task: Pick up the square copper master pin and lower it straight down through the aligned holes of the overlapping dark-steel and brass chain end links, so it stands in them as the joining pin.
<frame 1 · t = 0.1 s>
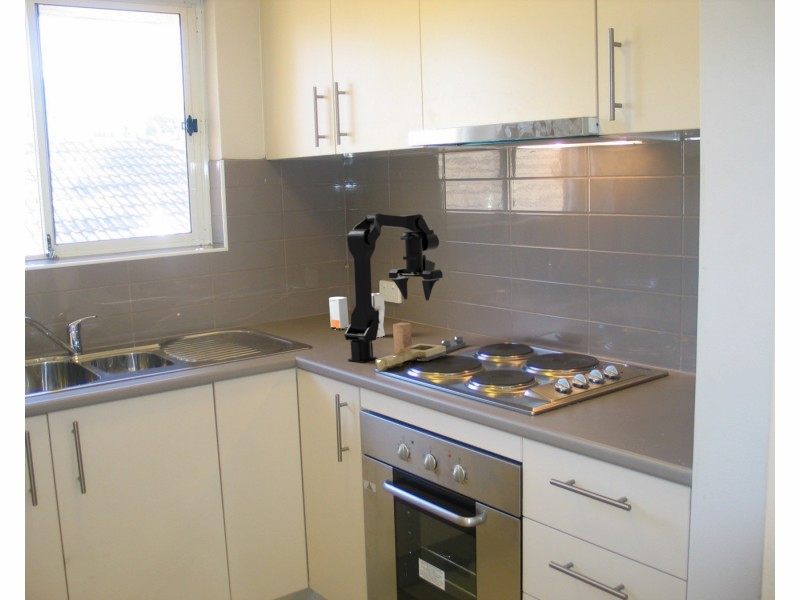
hand: (416, 299, 268), 15 cm above the countertop, fingers open, 9 cm apart
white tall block: (376, 336, 287), on the countertop
master pin: (403, 351, 258), on the countertop
skincare box: (340, 329, 306), on the countertop
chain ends: (423, 357, 248), on the countertop
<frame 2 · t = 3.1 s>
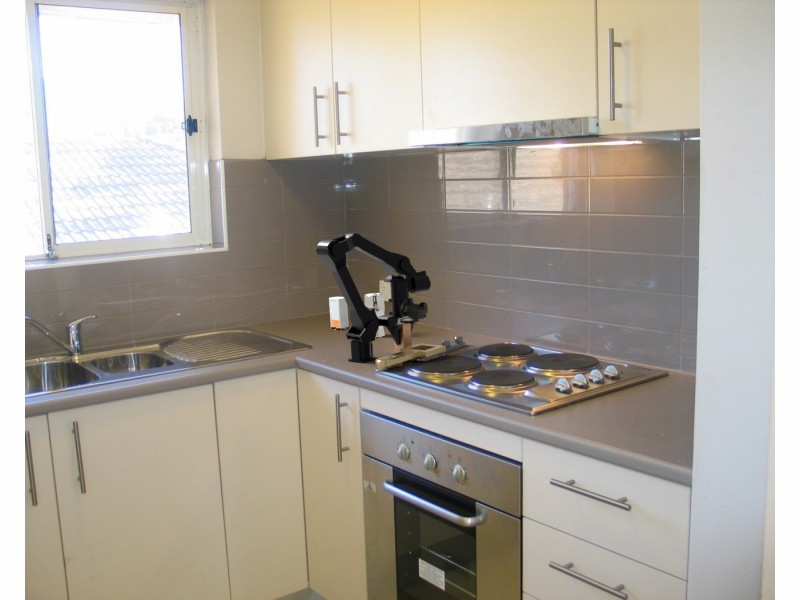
hand: (402, 343, 257), 3 cm above the countertop, fingers closed on master pin, 4 cm apart
master pin: (403, 351, 258), on the countertop, touching gripper
everything else where it was.
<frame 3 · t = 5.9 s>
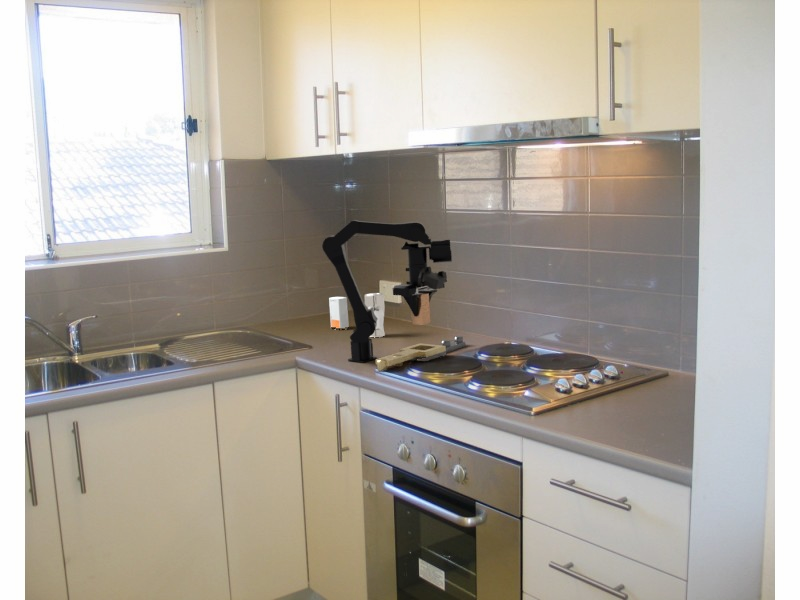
hand: (420, 315, 246), 13 cm above the countertop, fingers closed on master pin, 4 cm apart
master pin: (421, 323, 247), point 10 cm above the countertop, touching gripper
everything else where it was.
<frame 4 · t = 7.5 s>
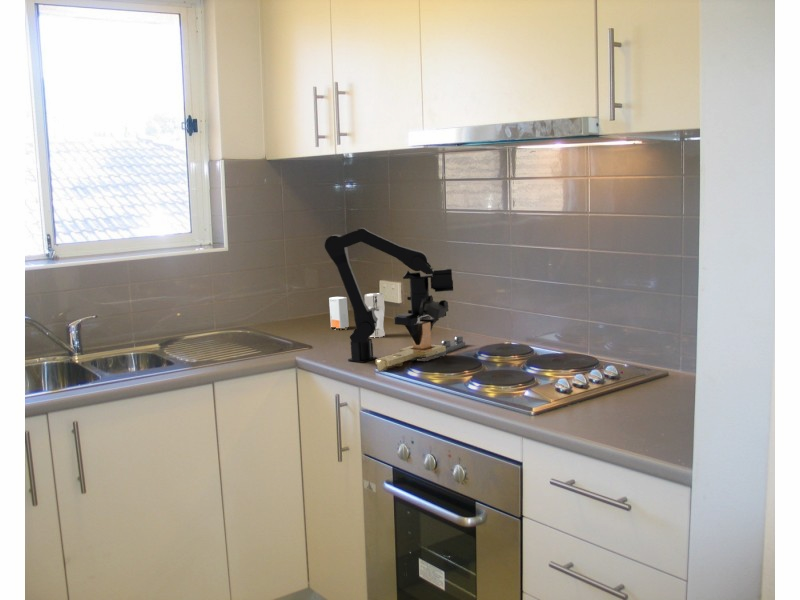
hand: (422, 343, 247), 4 cm above the countertop, fingers closed on master pin, 4 cm apart
master pin: (422, 351, 248), point 2 cm above the countertop, touching gripper
everything else where it was.
when the fingers open (4 cm above the countertop, at t = 8.6 s): master pin drops 1 cm, resting in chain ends.
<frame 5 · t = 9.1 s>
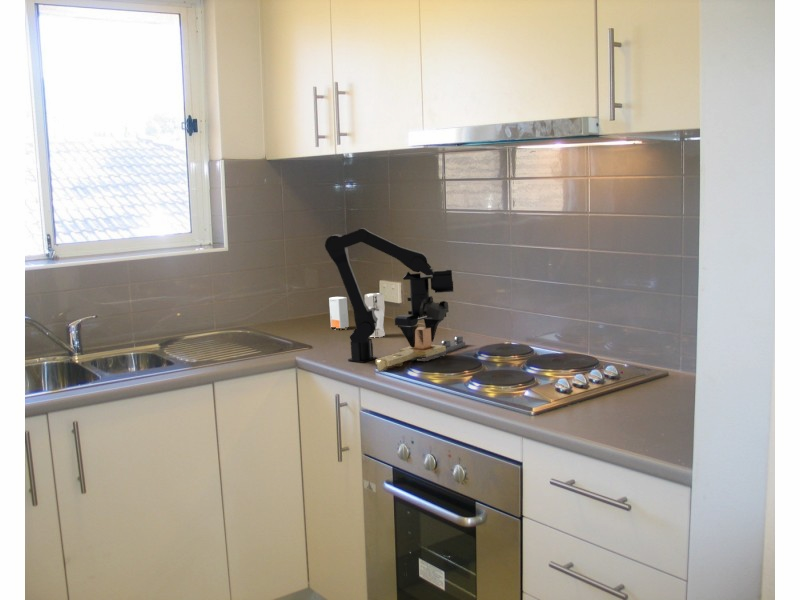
hand: (422, 344, 247), 4 cm above the countertop, fingers open, 9 cm apart
master pin: (422, 357, 248), resting in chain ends
everything else where it was.
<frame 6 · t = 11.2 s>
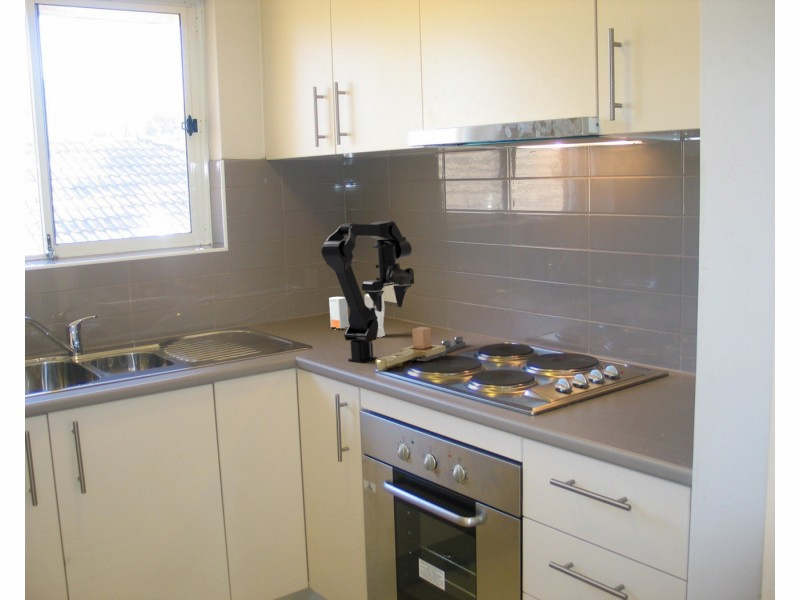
hand: (390, 309, 260), 13 cm above the countertop, fingers open, 9 cm apart
nothing on the countertop moved.
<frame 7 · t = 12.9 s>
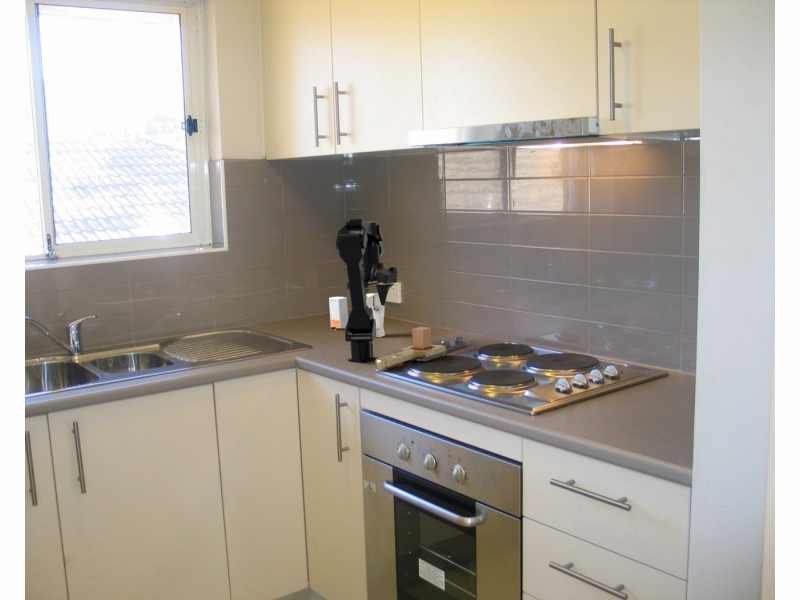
hand: (373, 307, 267), 13 cm above the countertop, fingers open, 9 cm apart
nothing on the countertop moved.
at the end: master pin 0.0 cm off-centre on the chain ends, point 0.0 cm above the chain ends's base; master pin tilted 0°; the gripper is holding nothing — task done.
